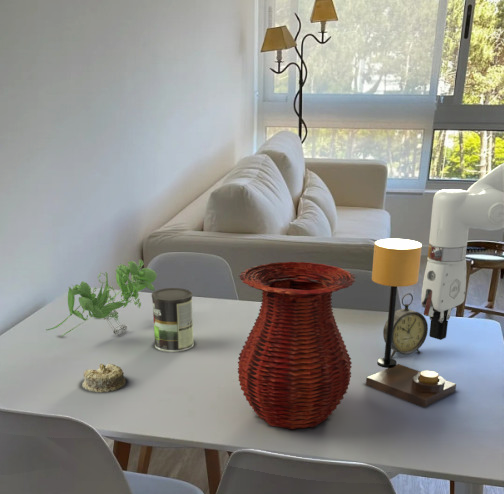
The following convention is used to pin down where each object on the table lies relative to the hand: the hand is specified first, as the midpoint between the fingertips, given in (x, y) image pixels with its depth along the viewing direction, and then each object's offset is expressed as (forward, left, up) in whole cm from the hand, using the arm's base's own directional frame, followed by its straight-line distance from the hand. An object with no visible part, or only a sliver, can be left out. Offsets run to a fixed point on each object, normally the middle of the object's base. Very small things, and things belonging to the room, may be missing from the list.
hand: (437, 337), depth 152 cm
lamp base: (+5, +1, -14) cm, 15 cm away
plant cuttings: (+84, +32, -14) cm, 91 cm away
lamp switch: (0, +1, -10) cm, 10 cm away
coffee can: (+63, +24, -14) cm, 69 cm away
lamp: (+12, +1, -10) cm, 15 cm away
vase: (+14, +30, -14) cm, 36 cm away
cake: (+54, +51, -14) cm, 75 cm away
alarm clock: (+19, -15, -14) cm, 28 cm away
